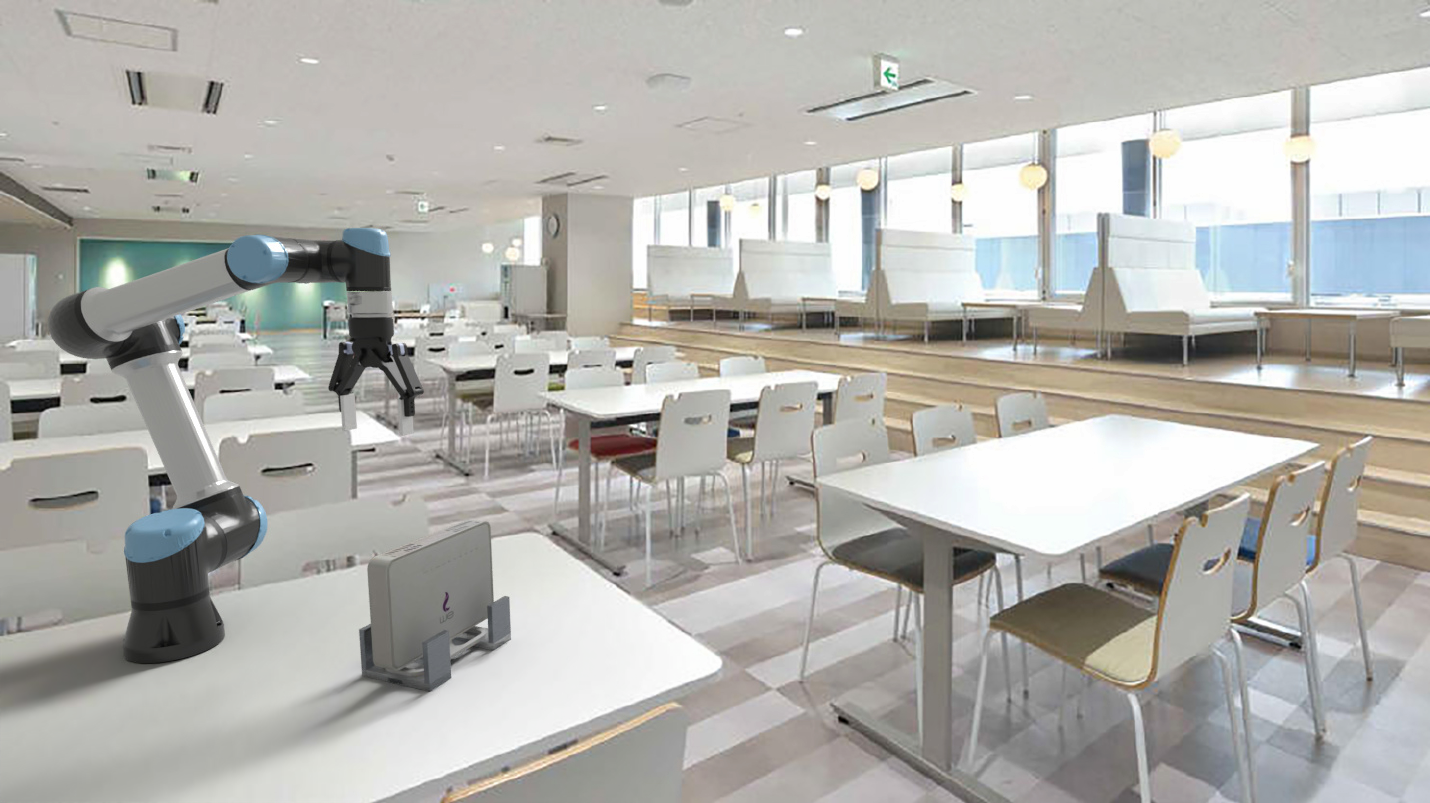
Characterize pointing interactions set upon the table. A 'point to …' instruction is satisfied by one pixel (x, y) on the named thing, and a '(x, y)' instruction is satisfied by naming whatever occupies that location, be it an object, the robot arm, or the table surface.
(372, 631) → the network device
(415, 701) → the table surface
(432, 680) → the stand
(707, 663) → the table surface
